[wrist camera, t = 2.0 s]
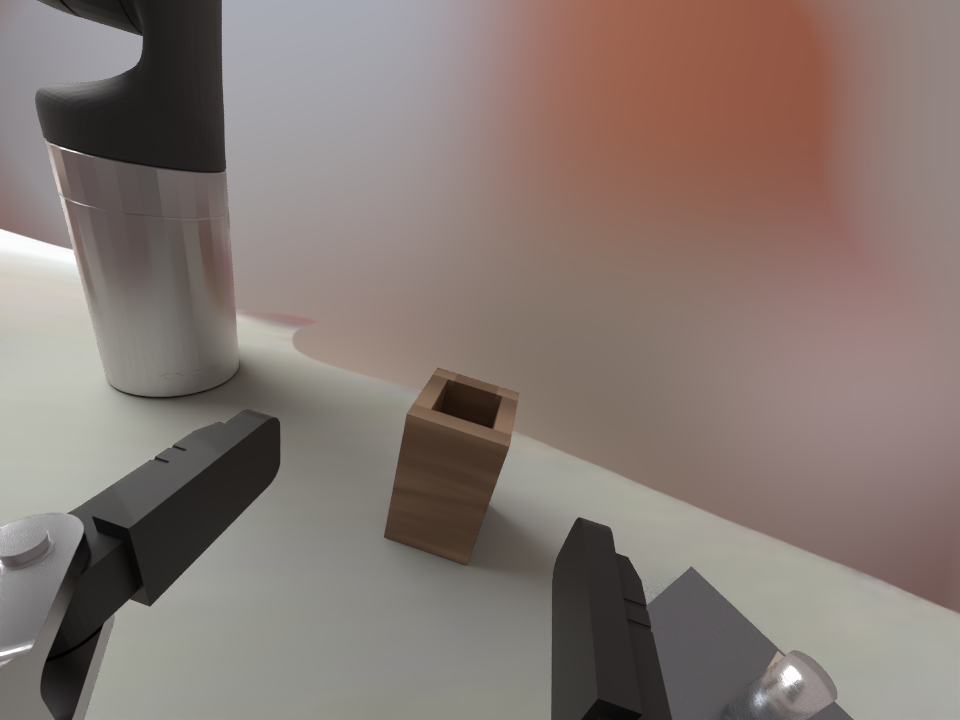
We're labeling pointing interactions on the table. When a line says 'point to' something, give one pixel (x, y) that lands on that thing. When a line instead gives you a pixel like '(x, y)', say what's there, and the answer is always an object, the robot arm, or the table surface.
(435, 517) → the sleeve
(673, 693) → the base plate
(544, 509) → the table surface
